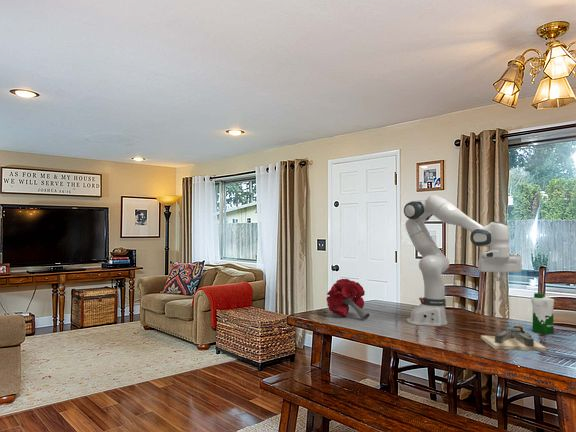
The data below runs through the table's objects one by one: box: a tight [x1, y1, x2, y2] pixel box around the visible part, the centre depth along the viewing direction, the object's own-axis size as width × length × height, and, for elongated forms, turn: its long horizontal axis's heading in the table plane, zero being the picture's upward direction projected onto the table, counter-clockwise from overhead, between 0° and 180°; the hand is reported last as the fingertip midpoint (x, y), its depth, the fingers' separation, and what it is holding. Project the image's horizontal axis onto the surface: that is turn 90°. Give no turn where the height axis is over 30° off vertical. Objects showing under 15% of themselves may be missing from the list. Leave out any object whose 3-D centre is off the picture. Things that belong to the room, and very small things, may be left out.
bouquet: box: [326, 278, 370, 321], centre depth 252 cm, size 21×23×30 cm
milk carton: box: [530, 292, 555, 335], centre depth 218 cm, size 9×9×20 cm
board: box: [480, 335, 548, 352], centre depth 194 cm, size 22×18×2 cm
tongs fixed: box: [505, 327, 535, 346], centre depth 194 cm, size 16×6×5 cm, turn 173°
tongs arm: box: [494, 330, 510, 343], centre depth 195 cm, size 13×3×3 cm, turn 135°
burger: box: [512, 321, 532, 338], centre depth 209 cm, size 12×12×8 cm
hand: (499, 281), depth 210 cm, fingers closed
